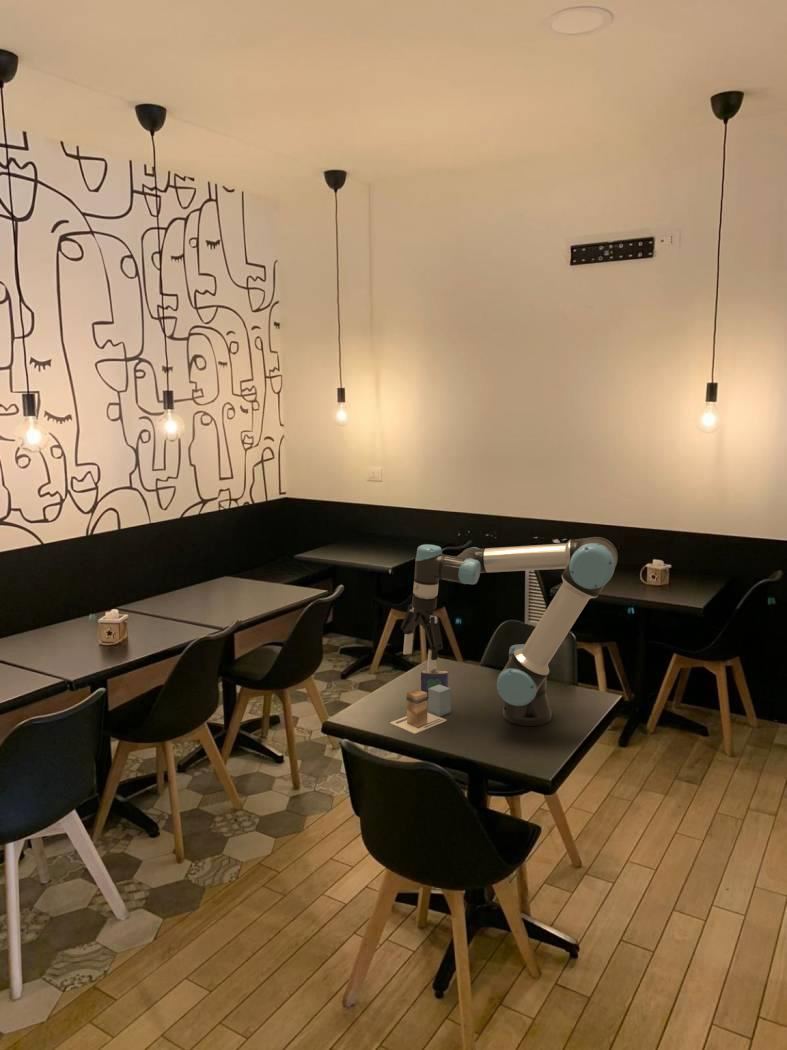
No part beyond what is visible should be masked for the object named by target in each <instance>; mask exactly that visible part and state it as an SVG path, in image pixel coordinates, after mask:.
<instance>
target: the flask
mask: <svg viewBox="0 0 787 1050" xmlns="http://www.w3.org/2000/svg"><path fill="white" fill-rule="evenodd" d="M437 668H438V667H437V666H436V669H431V670H428V669H425V670H421V672H420V690H421V691H424V692H427V699H428V688H431V687H434V686H436V685H442V686H445V687H448V688H449V672H448V671H447V670H438V669H437Z"/></svg>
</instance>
